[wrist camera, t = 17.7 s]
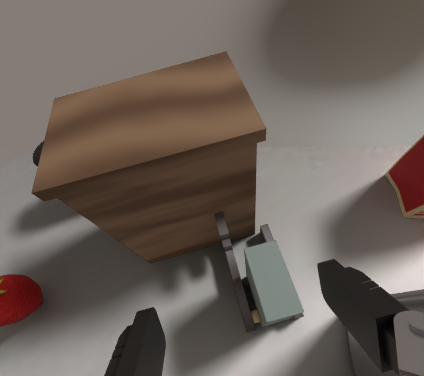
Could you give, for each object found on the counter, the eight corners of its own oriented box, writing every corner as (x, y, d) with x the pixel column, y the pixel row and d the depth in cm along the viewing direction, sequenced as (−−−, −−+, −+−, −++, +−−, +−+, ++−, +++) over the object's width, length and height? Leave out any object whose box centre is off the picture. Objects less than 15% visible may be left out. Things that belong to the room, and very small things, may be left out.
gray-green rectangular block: (285, 320, 28) (304, 312, 18) (255, 328, 28) (256, 324, 18) (268, 270, 31) (275, 240, 21) (240, 277, 31) (235, 250, 21)
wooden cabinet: (300, 317, 28) (381, 287, 10) (153, 357, 28) (-19, 397, 10) (245, 175, 40) (239, 47, 22) (142, 203, 40) (54, 98, 22)
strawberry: (56, 326, 32) (-14, 323, 23) (6, 330, 32) (-80, 328, 24) (69, 280, 35) (10, 263, 26) (22, 284, 35) (-49, 268, 27)
